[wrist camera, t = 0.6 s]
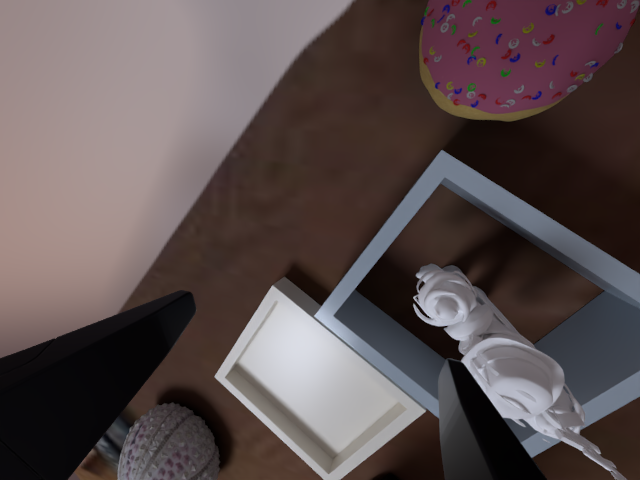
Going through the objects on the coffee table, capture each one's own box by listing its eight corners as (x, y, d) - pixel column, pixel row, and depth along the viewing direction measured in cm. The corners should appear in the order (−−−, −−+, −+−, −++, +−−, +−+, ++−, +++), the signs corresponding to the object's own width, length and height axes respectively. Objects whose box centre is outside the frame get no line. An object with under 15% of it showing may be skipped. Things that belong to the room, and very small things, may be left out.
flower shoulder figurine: (525, 319, 18) (708, 528, 7) (476, 345, 20) (565, 551, 9) (438, 228, 19) (483, 288, 8) (398, 259, 20) (386, 348, 9)
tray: (424, 389, 22) (426, 411, 20) (337, 462, 27) (331, 486, 25) (284, 276, 24) (272, 285, 22) (228, 362, 29) (214, 376, 27)
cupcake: (464, -34, 15) (611, -602, 4) (613, 9, 14) (1476, -735, 3) (393, 108, 18) (370, -12, 7) (509, 158, 17) (713, 102, 5)
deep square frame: (634, 289, 16) (742, 338, 11) (481, 401, 20) (505, 472, 15) (432, 159, 18) (441, 149, 13) (335, 287, 23) (314, 316, 18)
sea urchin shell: (154, 445, 39) (93, 507, 31) (155, 377, 35) (87, 429, 27) (224, 493, 35) (175, 575, 28) (234, 422, 31) (181, 496, 24)
